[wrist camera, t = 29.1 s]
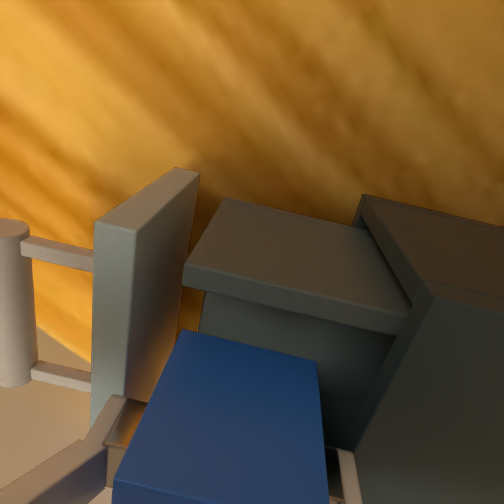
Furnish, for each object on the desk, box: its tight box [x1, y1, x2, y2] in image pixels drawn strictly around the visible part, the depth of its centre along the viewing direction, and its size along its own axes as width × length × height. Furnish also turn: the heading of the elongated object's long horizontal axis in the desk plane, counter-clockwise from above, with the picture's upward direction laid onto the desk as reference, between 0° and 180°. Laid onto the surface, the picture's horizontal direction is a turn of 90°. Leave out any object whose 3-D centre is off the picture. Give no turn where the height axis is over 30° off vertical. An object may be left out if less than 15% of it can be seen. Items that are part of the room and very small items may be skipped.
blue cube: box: [112, 329, 330, 504], centre depth 10 cm, size 5×5×5 cm
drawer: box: [0, 167, 413, 449], centre depth 15 cm, size 19×11×7 cm, turn 78°
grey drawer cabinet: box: [341, 194, 504, 504], centre depth 15 cm, size 15×13×9 cm
